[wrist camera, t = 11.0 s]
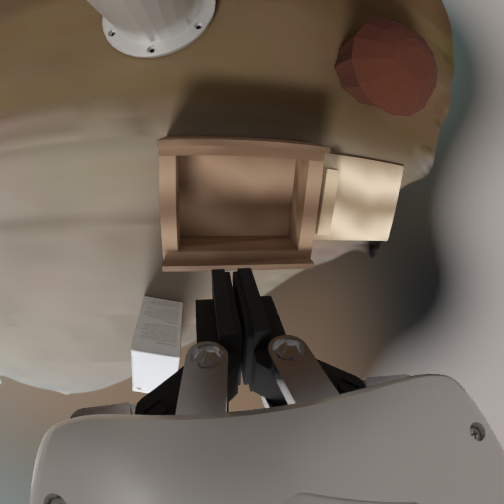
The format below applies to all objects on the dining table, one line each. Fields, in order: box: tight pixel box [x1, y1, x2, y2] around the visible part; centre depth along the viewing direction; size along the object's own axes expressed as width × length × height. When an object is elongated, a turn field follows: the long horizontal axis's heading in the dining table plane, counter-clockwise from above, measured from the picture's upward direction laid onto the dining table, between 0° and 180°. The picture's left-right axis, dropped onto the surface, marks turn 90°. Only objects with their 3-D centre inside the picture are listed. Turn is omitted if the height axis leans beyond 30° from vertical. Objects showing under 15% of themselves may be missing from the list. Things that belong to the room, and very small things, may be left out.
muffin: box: [334, 18, 437, 116], centre depth 23 cm, size 12×11×10 cm
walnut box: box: [157, 136, 331, 272], centre depth 29 cm, size 13×16×6 cm
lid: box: [313, 153, 404, 241], centre depth 34 cm, size 11×14×3 cm
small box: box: [131, 296, 183, 393], centre depth 33 cm, size 8×6×10 cm
